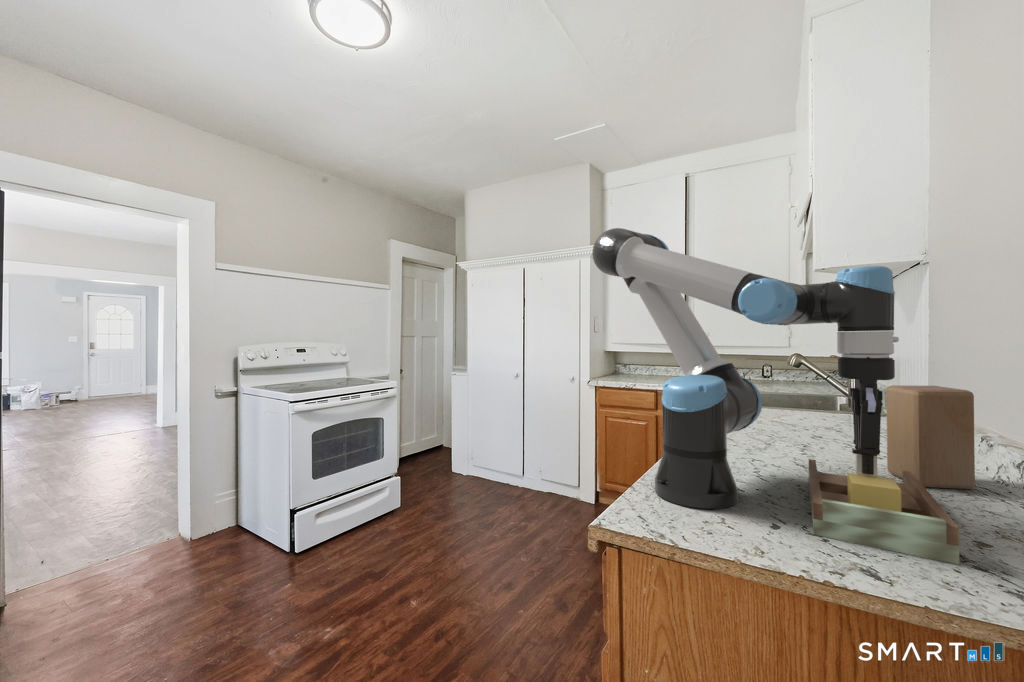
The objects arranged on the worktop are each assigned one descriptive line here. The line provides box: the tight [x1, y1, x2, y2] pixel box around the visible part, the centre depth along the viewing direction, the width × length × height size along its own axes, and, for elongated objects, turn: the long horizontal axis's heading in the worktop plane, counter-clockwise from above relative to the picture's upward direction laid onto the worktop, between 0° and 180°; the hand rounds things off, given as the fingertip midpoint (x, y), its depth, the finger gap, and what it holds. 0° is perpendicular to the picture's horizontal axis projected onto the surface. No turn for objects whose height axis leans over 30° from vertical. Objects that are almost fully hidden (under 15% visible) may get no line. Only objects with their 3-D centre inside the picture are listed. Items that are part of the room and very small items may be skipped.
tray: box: [808, 458, 960, 565], centre depth 72 cm, size 16×28×6 cm, turn 145°
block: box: [885, 384, 976, 490], centre depth 88 cm, size 10×10×20 cm
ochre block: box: [846, 472, 901, 512], centre depth 69 cm, size 6×6×4 cm
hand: (866, 490), depth 72 cm, fingers closed
